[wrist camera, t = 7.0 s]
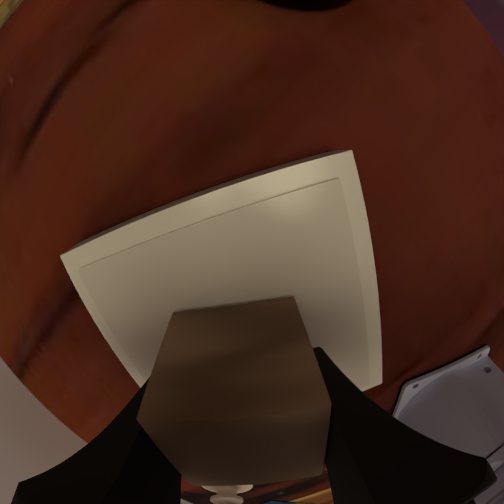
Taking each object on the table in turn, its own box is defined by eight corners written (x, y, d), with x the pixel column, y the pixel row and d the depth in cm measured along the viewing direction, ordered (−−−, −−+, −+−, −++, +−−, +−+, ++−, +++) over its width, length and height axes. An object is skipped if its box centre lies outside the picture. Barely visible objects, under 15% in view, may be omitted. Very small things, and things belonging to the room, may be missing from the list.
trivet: (333, 150, 10) (354, 150, 8) (369, 361, 14) (383, 386, 12) (82, 241, 11) (56, 257, 9) (184, 409, 15) (180, 436, 13)
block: (293, 296, 10) (331, 403, 5) (299, 380, 11) (321, 474, 7) (173, 312, 10) (136, 419, 5) (201, 391, 11) (191, 485, 7)
